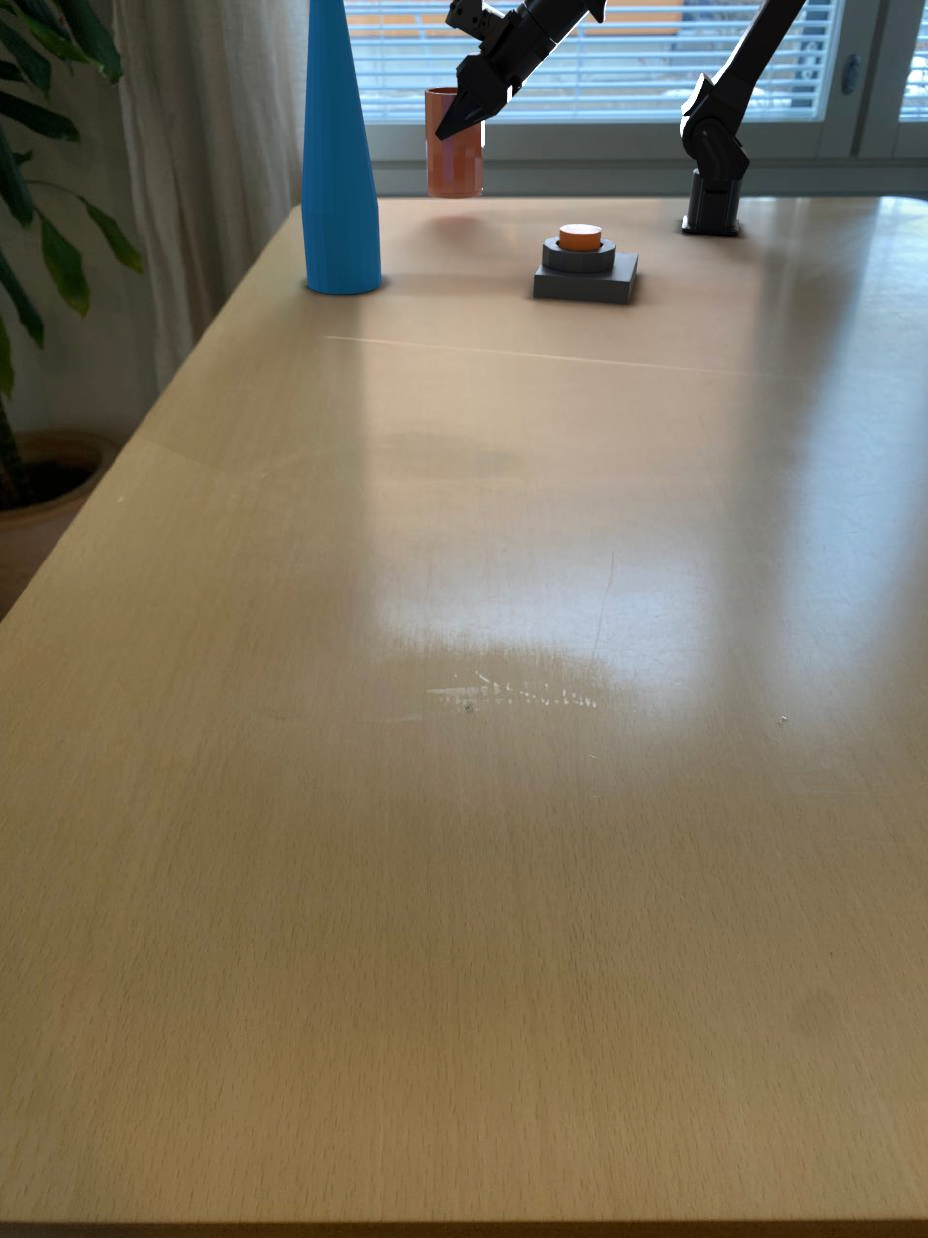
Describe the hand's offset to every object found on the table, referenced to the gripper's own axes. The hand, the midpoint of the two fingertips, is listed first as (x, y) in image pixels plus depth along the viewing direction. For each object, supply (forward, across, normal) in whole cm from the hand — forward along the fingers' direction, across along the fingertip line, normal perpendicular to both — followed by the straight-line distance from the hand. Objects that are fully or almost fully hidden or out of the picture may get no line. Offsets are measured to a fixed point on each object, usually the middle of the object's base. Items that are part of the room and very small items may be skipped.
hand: (443, 131), depth 111 cm
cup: (+4, 0, +6) cm, 7 cm away
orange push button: (-9, +26, +17) cm, 32 cm away
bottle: (+10, +30, +4) cm, 32 cm away
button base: (-7, +26, +20) cm, 34 cm away
